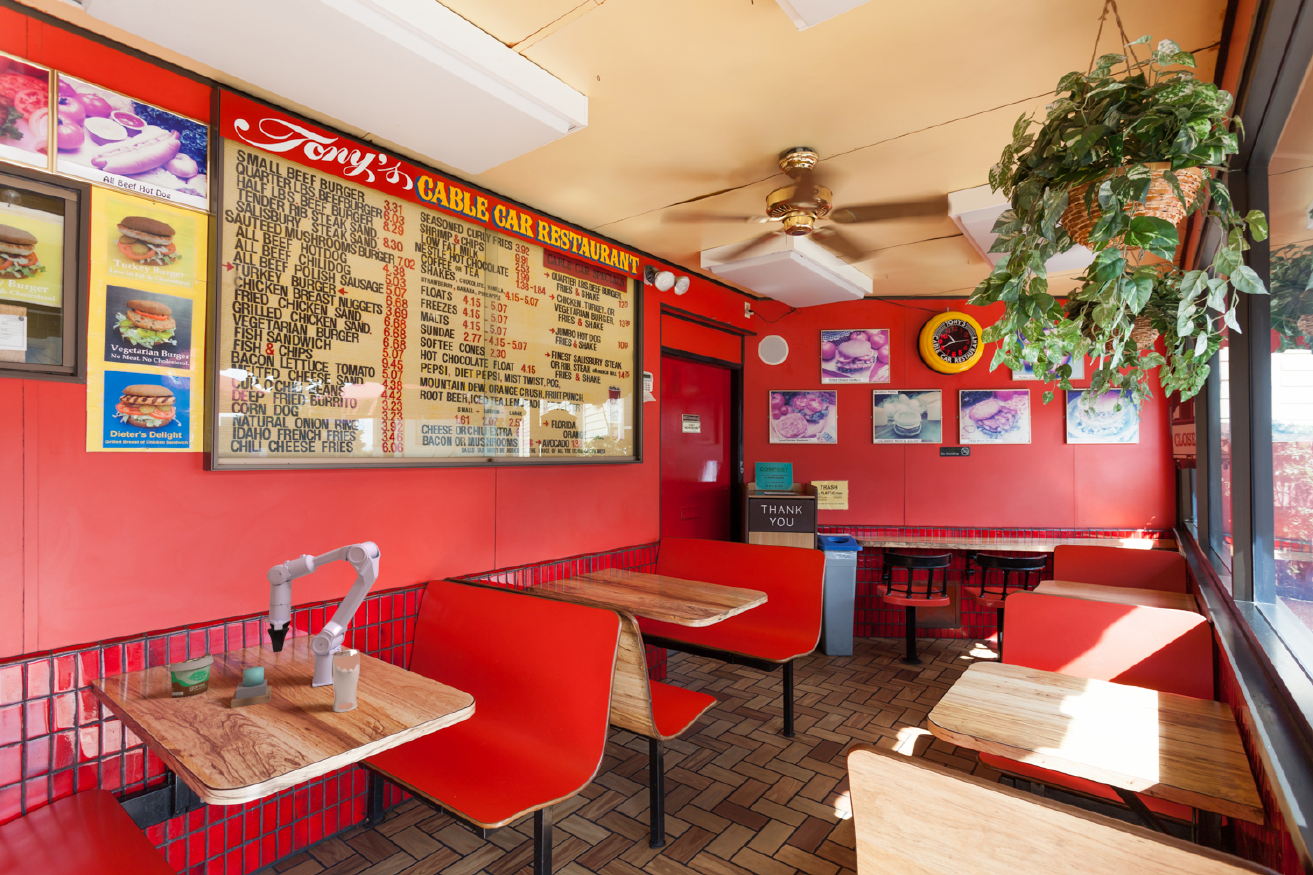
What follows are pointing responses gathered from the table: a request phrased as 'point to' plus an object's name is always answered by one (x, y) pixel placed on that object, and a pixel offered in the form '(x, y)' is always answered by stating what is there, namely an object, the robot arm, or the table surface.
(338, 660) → the beer glass
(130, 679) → the table surface
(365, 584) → the robot arm
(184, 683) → the food container
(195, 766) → the table surface
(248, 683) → the teal domed cylinder
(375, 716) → the table surface
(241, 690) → the tower top
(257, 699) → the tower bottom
